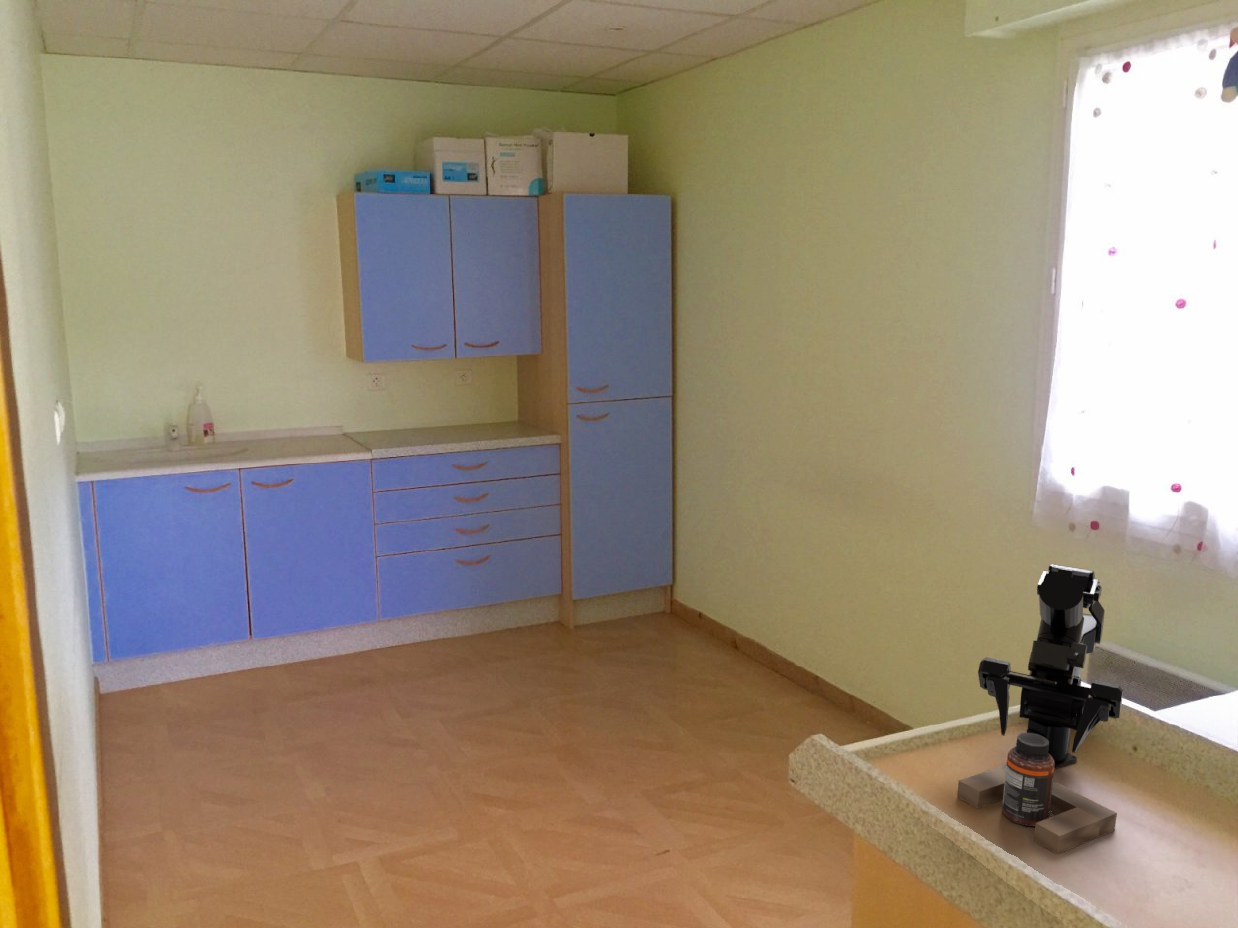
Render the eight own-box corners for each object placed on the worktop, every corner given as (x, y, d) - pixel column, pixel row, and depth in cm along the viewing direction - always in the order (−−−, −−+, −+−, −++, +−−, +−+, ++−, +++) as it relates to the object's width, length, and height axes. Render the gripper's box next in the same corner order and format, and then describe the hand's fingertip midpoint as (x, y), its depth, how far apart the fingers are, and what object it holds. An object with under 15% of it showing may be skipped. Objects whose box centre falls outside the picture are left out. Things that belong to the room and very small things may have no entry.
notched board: (1013, 777, 151) (1015, 761, 150) (1114, 830, 138) (1117, 812, 137) (957, 796, 145) (958, 780, 144) (1057, 853, 131) (1059, 835, 131)
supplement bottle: (1033, 804, 144) (1042, 728, 141) (1057, 827, 138) (1067, 748, 136) (992, 805, 143) (1001, 729, 141) (1015, 829, 137) (1024, 749, 135)
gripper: (987, 603, 149) (963, 702, 142) (1131, 630, 140) (1113, 737, 133) (992, 639, 157) (969, 734, 150) (1127, 666, 148) (1111, 769, 141)
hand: (1037, 742), depth 143 cm, fingers open, 9 cm apart
